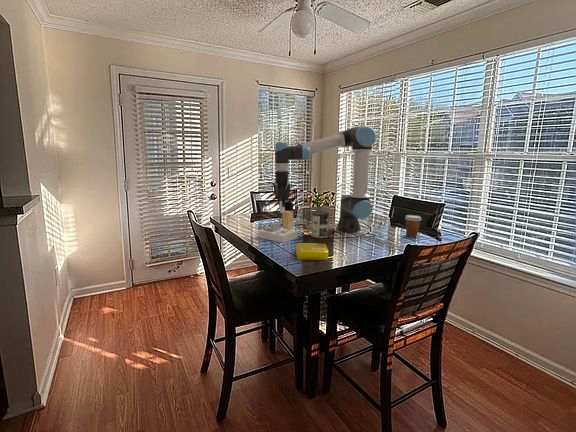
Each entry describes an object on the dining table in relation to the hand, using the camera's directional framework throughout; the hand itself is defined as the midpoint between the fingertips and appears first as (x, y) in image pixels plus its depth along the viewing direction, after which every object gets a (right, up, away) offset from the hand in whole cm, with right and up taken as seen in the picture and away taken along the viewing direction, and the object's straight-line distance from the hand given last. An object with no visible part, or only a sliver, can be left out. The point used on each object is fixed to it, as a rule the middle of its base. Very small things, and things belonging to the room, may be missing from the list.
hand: (282, 212), depth 195 cm
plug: (+3, -12, +17) cm, 22 cm away
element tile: (+15, -22, -27) cm, 38 cm away
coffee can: (+22, -14, +10) cm, 29 cm away
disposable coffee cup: (+80, -14, +15) cm, 82 cm away
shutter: (-6, -10, +6) cm, 13 cm away
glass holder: (+5, -8, +39) cm, 40 cm away
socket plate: (-2, -15, +4) cm, 16 cm away
